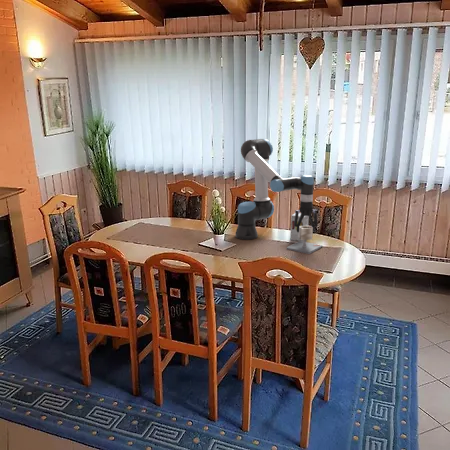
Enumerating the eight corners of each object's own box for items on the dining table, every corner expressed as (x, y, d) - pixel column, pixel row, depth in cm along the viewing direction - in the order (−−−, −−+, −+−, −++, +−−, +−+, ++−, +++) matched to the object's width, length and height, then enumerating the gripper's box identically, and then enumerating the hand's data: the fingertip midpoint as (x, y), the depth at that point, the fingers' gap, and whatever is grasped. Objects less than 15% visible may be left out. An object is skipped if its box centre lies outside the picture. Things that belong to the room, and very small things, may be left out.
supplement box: (289, 239, 307) (290, 215, 303) (294, 236, 315) (295, 212, 310) (303, 241, 303) (304, 216, 298) (308, 238, 311) (309, 213, 306)
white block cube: (301, 239, 284) (301, 228, 282) (298, 236, 291) (298, 225, 289) (312, 239, 285) (312, 227, 283) (308, 236, 292) (309, 224, 290)
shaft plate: (286, 249, 288) (286, 239, 286) (299, 242, 301) (300, 233, 299) (309, 254, 278) (310, 244, 277) (322, 247, 291) (322, 237, 290)
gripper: (292, 202, 277) (291, 239, 283) (324, 201, 279) (322, 237, 285) (289, 200, 284) (287, 235, 290) (320, 199, 286) (318, 234, 292)
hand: (305, 236), depth 288 cm, fingers closed on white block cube, 7 cm apart
